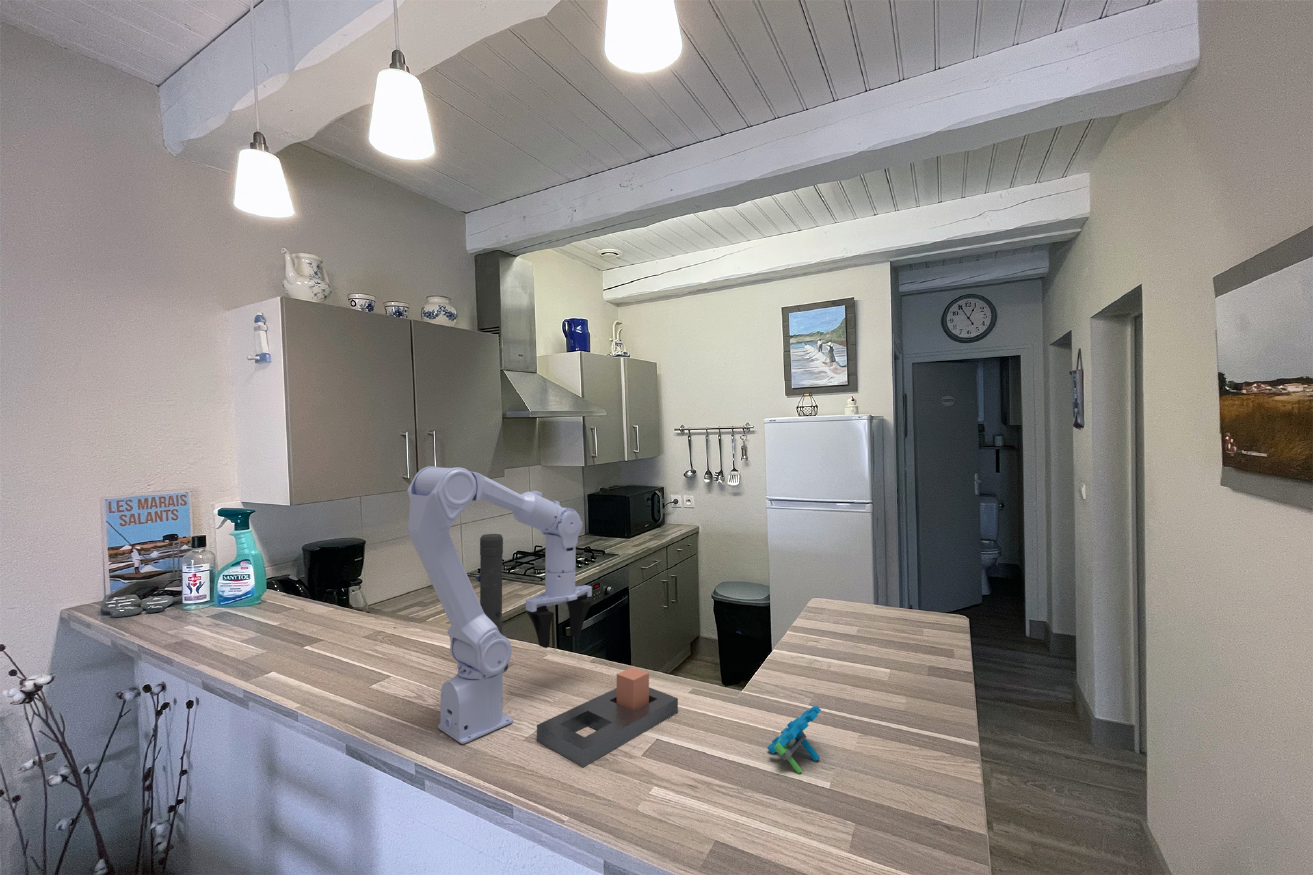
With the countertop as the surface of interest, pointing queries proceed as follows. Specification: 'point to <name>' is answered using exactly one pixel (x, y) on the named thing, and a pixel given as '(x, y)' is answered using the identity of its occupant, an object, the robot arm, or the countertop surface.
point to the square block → (633, 688)
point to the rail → (603, 725)
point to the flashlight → (491, 578)
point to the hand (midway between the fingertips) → (560, 640)
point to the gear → (795, 733)
